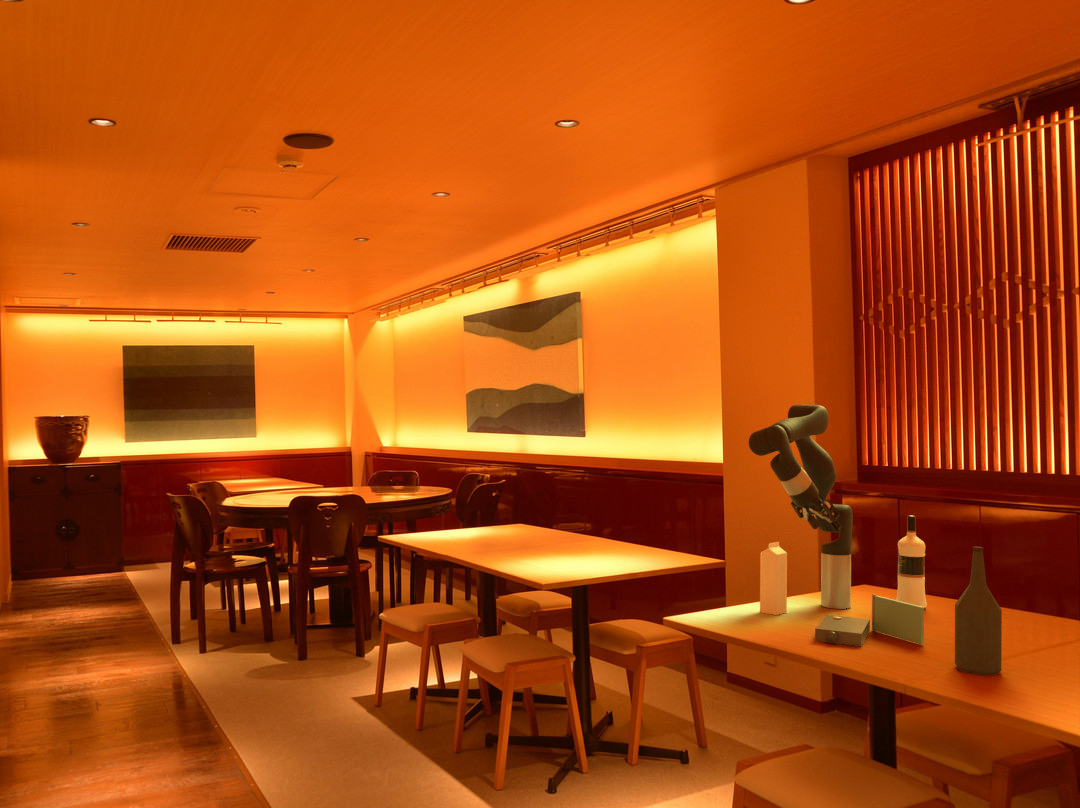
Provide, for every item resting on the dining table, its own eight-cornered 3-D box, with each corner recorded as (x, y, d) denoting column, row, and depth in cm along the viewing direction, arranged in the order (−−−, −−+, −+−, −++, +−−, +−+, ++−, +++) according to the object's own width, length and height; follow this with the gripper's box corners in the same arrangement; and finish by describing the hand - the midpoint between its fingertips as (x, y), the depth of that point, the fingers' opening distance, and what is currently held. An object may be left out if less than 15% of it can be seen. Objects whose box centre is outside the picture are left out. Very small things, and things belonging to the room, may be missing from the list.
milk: (786, 613, 281) (788, 542, 281) (776, 615, 277) (777, 544, 277) (769, 609, 285) (771, 540, 286) (759, 612, 281) (760, 542, 282)
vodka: (923, 611, 285) (923, 517, 286) (892, 608, 291) (893, 515, 291) (929, 607, 293) (929, 515, 294) (899, 603, 298) (899, 513, 299)
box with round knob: (826, 626, 262) (826, 613, 262) (870, 631, 257) (870, 617, 257) (814, 642, 243) (814, 628, 243) (860, 648, 238) (860, 633, 238)
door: (870, 630, 258) (871, 594, 258) (874, 630, 258) (874, 594, 258) (920, 645, 241) (921, 606, 241) (924, 645, 241) (924, 606, 242)
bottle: (1004, 669, 219) (1004, 546, 219) (998, 678, 211) (999, 550, 211) (958, 662, 225) (958, 542, 225) (951, 671, 216) (951, 546, 217)
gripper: (824, 477, 245) (853, 521, 249) (788, 476, 258) (817, 518, 262) (808, 495, 242) (838, 539, 246) (773, 493, 255) (802, 535, 259)
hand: (827, 528), depth 254 cm, fingers open, 8 cm apart
